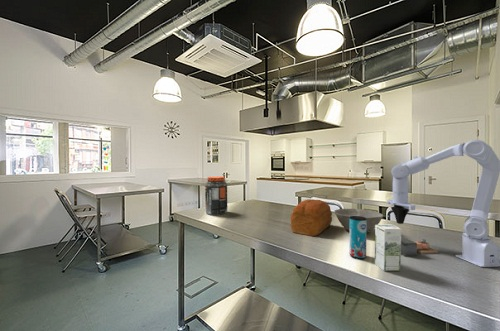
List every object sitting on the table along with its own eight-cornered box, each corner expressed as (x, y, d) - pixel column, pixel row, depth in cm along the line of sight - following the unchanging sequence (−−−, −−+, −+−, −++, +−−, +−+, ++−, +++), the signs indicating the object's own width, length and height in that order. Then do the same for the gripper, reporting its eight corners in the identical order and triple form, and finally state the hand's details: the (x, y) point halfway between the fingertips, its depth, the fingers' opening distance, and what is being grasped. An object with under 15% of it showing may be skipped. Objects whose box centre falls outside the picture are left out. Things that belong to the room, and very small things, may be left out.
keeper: (416, 255, 90) (416, 242, 90) (404, 256, 90) (404, 243, 90) (402, 248, 98) (402, 236, 98) (391, 248, 97) (391, 236, 97)
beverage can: (356, 260, 86) (357, 220, 86) (346, 254, 92) (346, 216, 91) (370, 258, 88) (370, 218, 87) (358, 252, 93) (358, 215, 93)
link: (424, 245, 98) (424, 238, 98) (431, 249, 94) (431, 241, 94) (391, 245, 98) (391, 238, 98) (397, 249, 94) (397, 241, 94)
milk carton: (390, 263, 83) (390, 223, 83) (401, 271, 77) (401, 228, 77) (374, 264, 83) (374, 223, 83) (384, 272, 77) (384, 228, 77)
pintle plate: (438, 253, 93) (438, 251, 93) (421, 253, 92) (421, 251, 92) (424, 246, 100) (424, 244, 99) (408, 247, 99) (408, 245, 99)
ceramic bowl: (390, 239, 109) (390, 218, 108) (338, 236, 113) (338, 216, 113) (374, 226, 130) (374, 209, 130) (331, 224, 135) (331, 207, 135)
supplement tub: (212, 210, 178) (212, 176, 177) (231, 211, 171) (231, 176, 171) (200, 214, 163) (200, 177, 163) (220, 216, 157) (220, 177, 156)
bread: (333, 225, 134) (333, 198, 134) (318, 238, 112) (318, 205, 112) (306, 221, 143) (306, 195, 143) (288, 232, 121) (288, 202, 121)
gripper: (381, 190, 109) (380, 219, 109) (403, 194, 95) (403, 228, 95) (395, 190, 110) (395, 219, 110) (420, 194, 95) (419, 227, 95)
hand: (400, 223), depth 102 cm, fingers closed
